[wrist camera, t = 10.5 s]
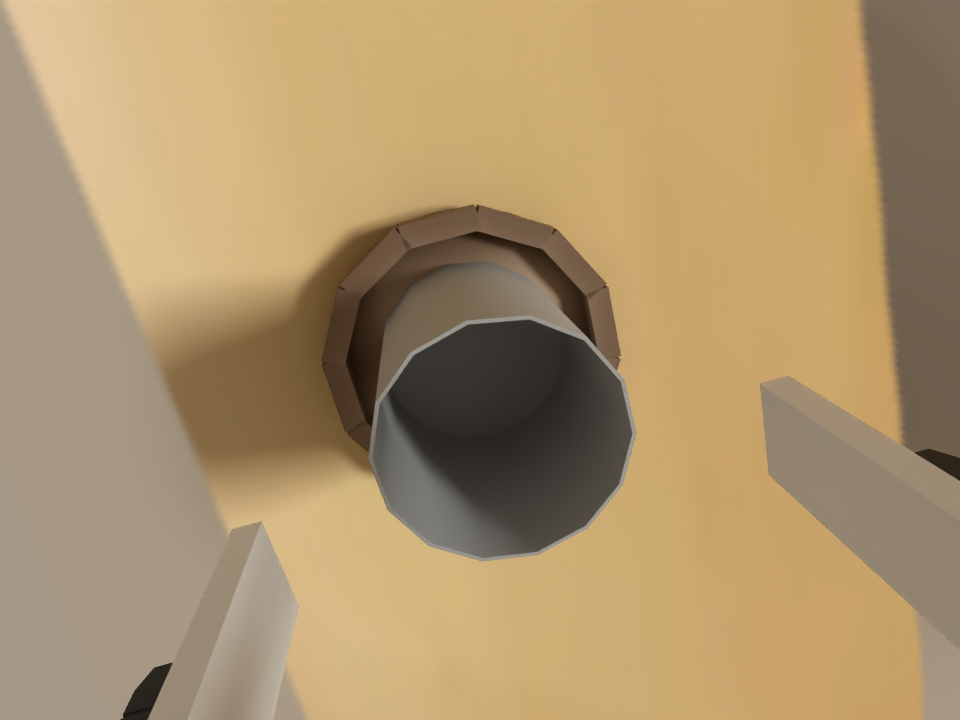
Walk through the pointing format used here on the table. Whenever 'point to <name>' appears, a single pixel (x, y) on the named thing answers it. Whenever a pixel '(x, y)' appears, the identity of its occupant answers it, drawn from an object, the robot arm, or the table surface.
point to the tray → (424, 251)
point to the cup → (494, 416)
